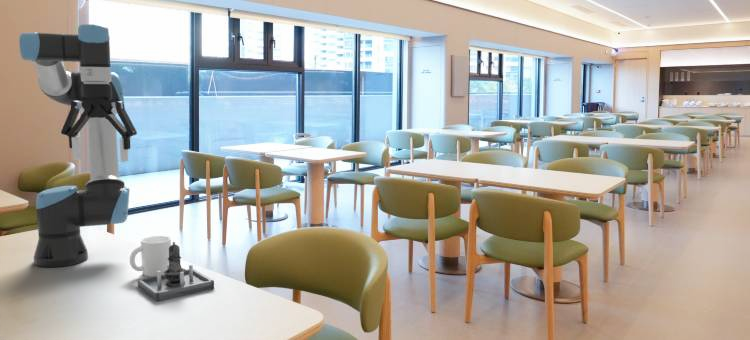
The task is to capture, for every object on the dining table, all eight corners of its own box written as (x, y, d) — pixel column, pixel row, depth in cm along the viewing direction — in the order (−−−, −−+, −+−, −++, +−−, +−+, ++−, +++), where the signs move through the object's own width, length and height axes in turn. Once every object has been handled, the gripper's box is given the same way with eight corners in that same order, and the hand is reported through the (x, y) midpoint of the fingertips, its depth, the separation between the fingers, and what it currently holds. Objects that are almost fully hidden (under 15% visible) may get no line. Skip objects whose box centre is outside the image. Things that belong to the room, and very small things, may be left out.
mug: (135, 282, 168) (134, 247, 166) (125, 275, 174) (123, 241, 172) (176, 273, 176) (175, 239, 174) (165, 266, 182) (163, 234, 180)
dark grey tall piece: (191, 281, 165) (189, 240, 163) (177, 288, 159) (175, 245, 158) (173, 279, 167) (171, 238, 165) (159, 285, 161) (157, 243, 160)
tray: (137, 287, 164) (136, 267, 163) (192, 275, 174) (192, 257, 173) (156, 301, 153) (155, 280, 152) (214, 288, 163) (213, 268, 163)
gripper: (43, 82, 157) (49, 161, 160) (134, 83, 155) (138, 163, 158) (60, 82, 164) (65, 158, 167) (147, 83, 162) (150, 160, 166)
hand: (100, 161), depth 163 cm, fingers open, 13 cm apart
